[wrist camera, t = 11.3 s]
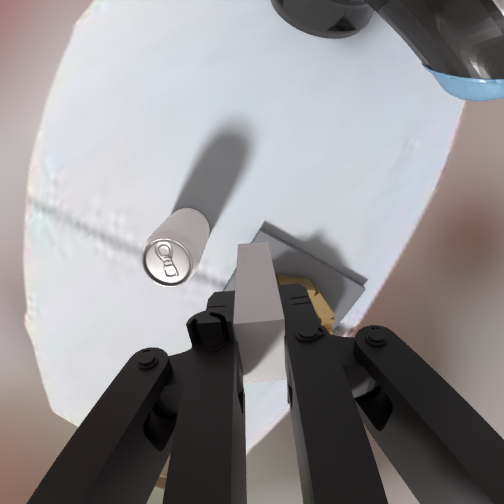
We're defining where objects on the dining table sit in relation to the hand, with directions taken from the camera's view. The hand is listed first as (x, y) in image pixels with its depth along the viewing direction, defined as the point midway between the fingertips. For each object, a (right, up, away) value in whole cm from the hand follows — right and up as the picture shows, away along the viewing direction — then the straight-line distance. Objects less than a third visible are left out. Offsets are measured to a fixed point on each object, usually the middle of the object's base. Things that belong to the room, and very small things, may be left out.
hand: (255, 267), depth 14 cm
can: (-9, +4, +25) cm, 27 cm away
